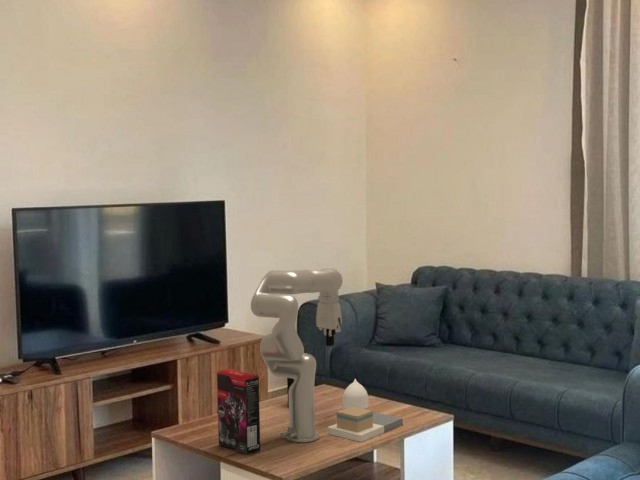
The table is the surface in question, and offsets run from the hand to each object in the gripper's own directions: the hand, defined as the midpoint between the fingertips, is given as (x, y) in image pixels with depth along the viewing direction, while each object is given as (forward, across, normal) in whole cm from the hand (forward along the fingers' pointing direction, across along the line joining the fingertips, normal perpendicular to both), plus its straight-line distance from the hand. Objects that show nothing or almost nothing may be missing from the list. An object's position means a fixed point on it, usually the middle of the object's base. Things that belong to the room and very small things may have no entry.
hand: (330, 345), depth 317 cm
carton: (+27, +21, -11) cm, 35 cm away
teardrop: (+29, -2, +18) cm, 35 cm away
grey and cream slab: (+29, +20, -4) cm, 36 cm away
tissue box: (+29, -22, +4) cm, 37 cm away
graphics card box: (+29, -2, -48) cm, 57 cm away
